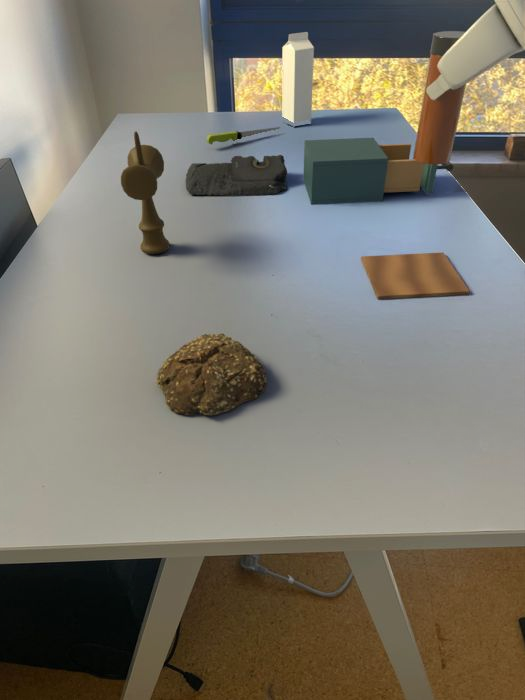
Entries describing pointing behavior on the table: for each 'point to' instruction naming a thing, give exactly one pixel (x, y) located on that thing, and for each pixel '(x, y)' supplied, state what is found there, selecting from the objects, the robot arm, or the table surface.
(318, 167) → the cabinet
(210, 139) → the kitchen knife
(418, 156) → the spice jar
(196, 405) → the bread roll
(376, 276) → the wooden board
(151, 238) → the kendama
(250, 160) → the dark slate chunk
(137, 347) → the table surface
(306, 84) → the milk
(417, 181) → the drawer
